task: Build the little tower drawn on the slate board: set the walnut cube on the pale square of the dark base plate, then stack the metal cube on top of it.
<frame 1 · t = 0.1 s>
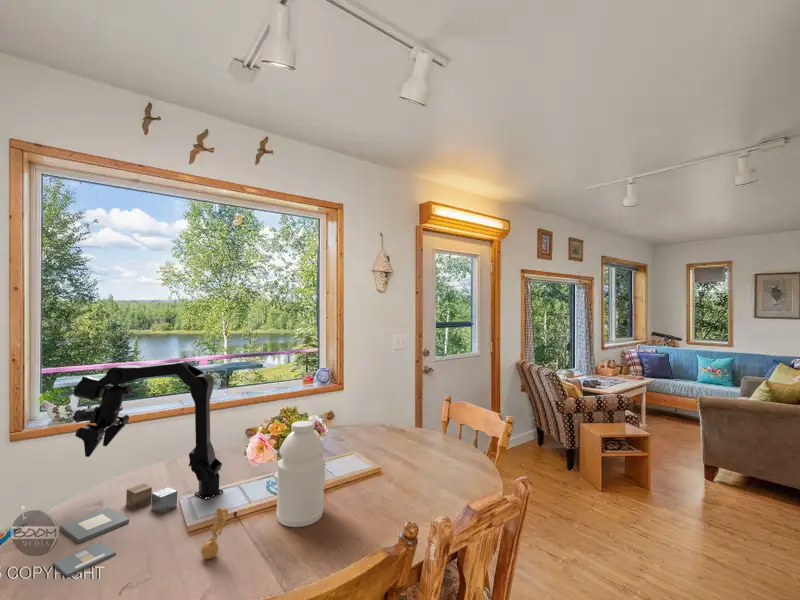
hand: (96, 451, 128), 15 cm above the table, tool pointing down, fingers open, 9 cm apart
figurine: (213, 556, 101), on the table
bottle: (300, 516, 121), on the table
walnut cube: (138, 504, 125), on the table
metal cube: (164, 508, 123), on the table
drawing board: (85, 559, 98), on the table
base plate: (94, 525, 113), on the table
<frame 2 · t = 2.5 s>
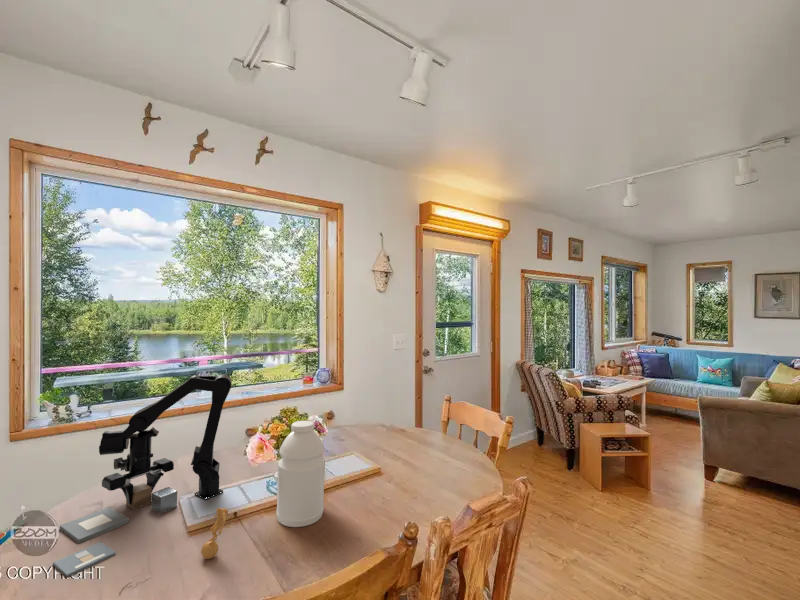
hand: (138, 500, 126), 1 cm above the table, tool pointing down, fingers closed on walnut cube, 5 cm apart
walnut cube: (138, 503, 126), on the table, touching gripper
everything else where it was.
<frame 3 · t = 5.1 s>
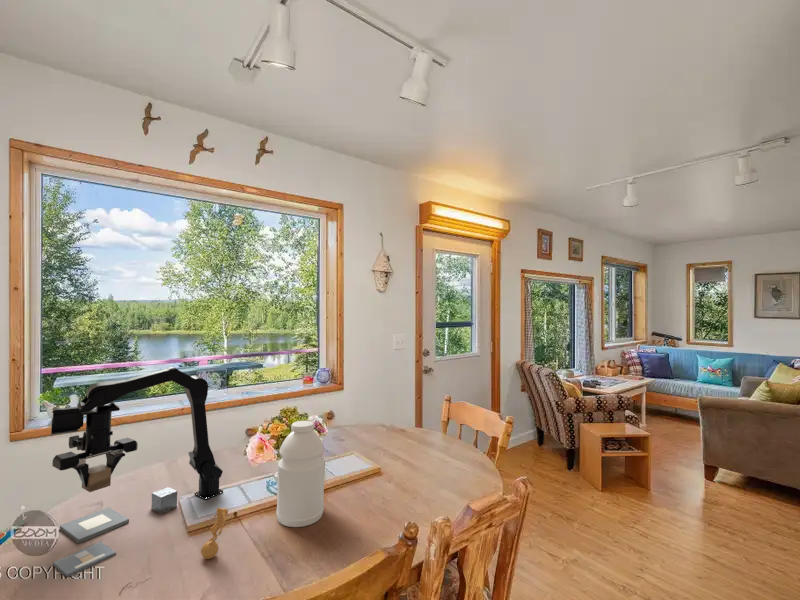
hand: (96, 483, 113), 12 cm above the table, tool pointing down, fingers closed on walnut cube, 5 cm apart
walnut cube: (96, 486, 113), point 11 cm above the table, touching gripper
everything else where it was.
when the fingers open (3 cm above the table, at t = 7.5 s): walnut cube stays where it is, resting on base plate.
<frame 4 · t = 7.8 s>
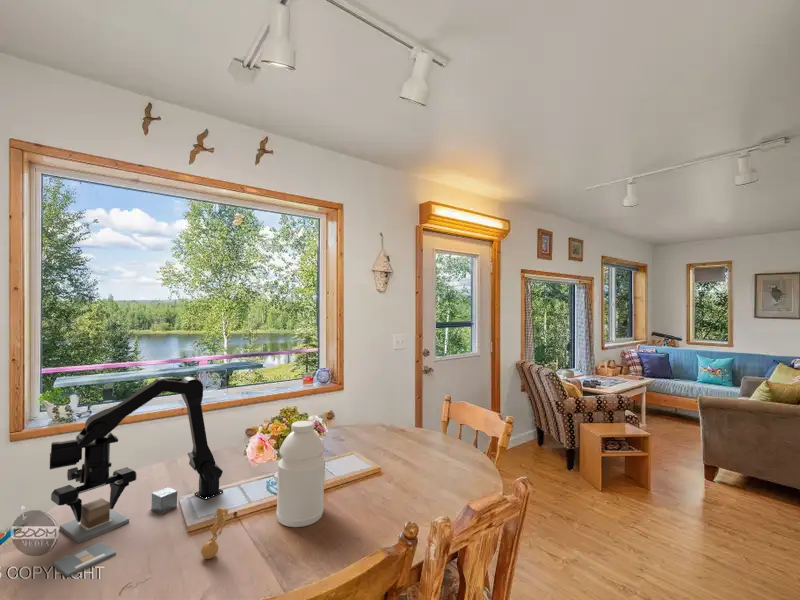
hand: (95, 515, 113), 3 cm above the table, tool pointing down, fingers open, 8 cm apart
walnut cube: (95, 521, 113), point 1 cm above the table, touching base plate
everything else where it was.
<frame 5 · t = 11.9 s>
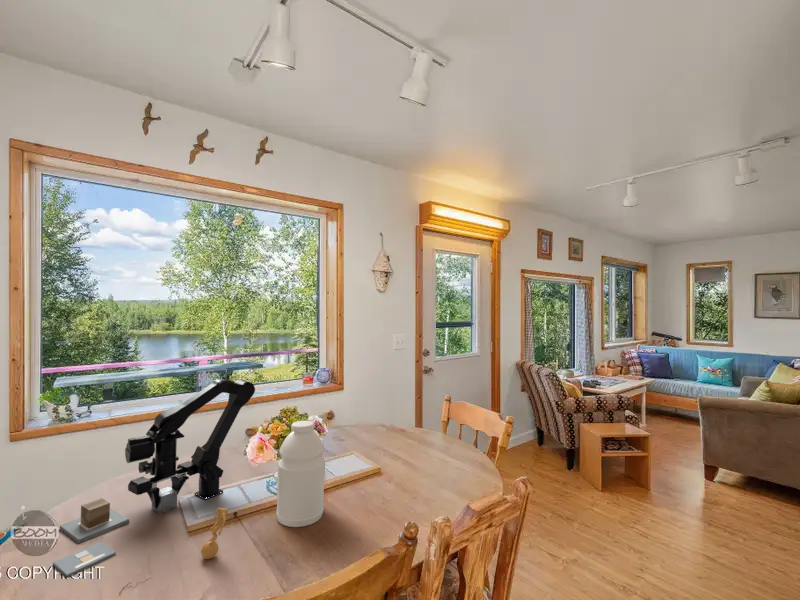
hand: (164, 504, 123), 1 cm above the table, tool pointing down, fingers closed on metal cube, 5 cm apart
metal cube: (164, 507, 123), on the table, touching gripper
everything else where it was.
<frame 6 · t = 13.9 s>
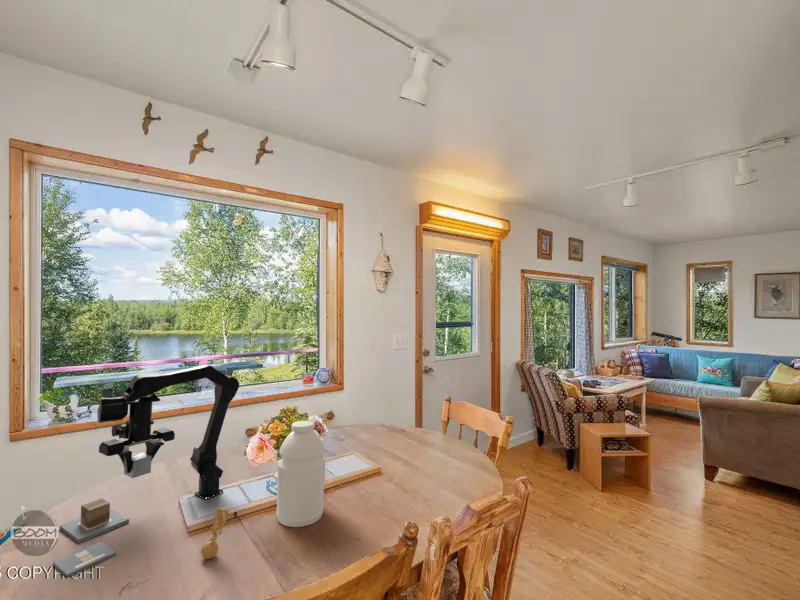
hand: (137, 469, 119), 14 cm above the table, tool pointing down, fingers closed on metal cube, 5 cm apart
metal cube: (137, 473, 119), point 12 cm above the table, touching gripper
everything else where it was.
when the fingers open (8 cm above the table, at t = 16.0 s): metal cube stays where it is, resting on walnut cube.
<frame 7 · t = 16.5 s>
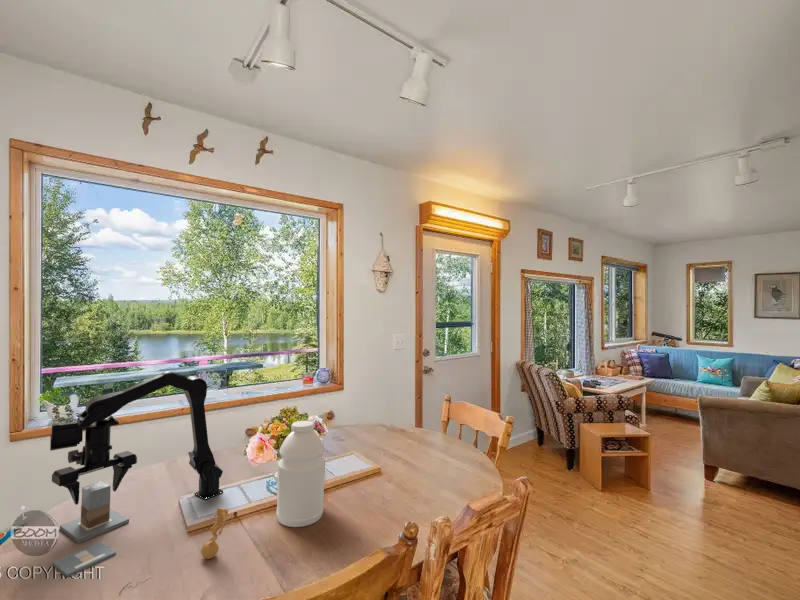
hand: (96, 497, 113), 8 cm above the table, tool pointing down, fingers open, 9 cm apart
walnut cube: (95, 521, 113), point 1 cm above the table, touching base plate, metal cube
metal cube: (95, 504, 113), point 6 cm above the table, touching walnut cube
everything else where it was.
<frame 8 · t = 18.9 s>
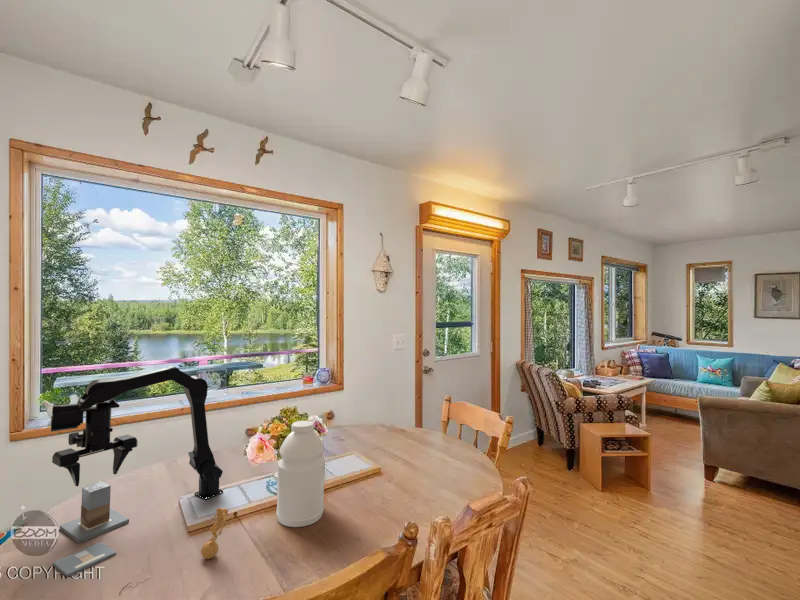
hand: (96, 479, 113), 13 cm above the table, tool pointing down, fingers open, 9 cm apart
nothing on the table moved.
at the end: walnut cube 0.1 cm off-centre on the base plate, point 1.1 cm above the base plate's base; metal cube 0.0 cm off-centre on the base plate, point 6.1 cm above the base plate's base; metal cube tilted 0° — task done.
